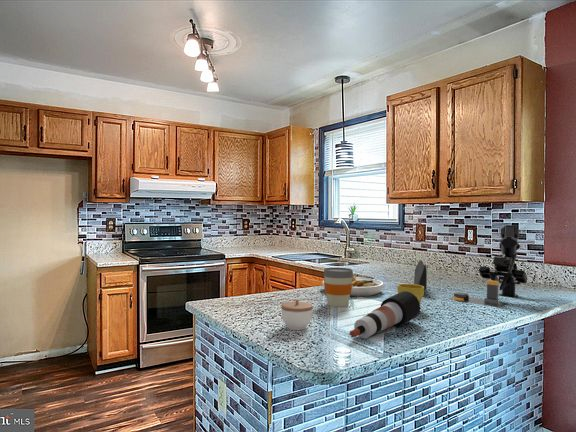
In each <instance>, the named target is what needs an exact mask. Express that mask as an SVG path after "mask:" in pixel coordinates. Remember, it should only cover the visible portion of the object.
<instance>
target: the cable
mask: <svg viewBox="0 0 576 432" xmlns="http://www.w3.org/2000/svg"><path fill="white" fill-rule="evenodd" d="M420 312H421V303H419V301H418V299H417V297H416V296H415V295H414V294H412V293H410V292H408V291H402V292H400V293H398V292H397V293H396V294H394V295H392V296H389V297H387V298H386V299H384V300H383V301H382V302H381V304H380V306H379V307H377V308H375V309H373V310H372V311H371V312H369V313H367V314H365V315H364V316H362V317H361V318H359V319H357V320H356V321H355V322H354V326H353V327H354V328H353V329H352V330H350V331H349V334H348V335H349V336H350V337H351V338H356V337H357V336H358V337H359V338H362V339H368V338H369V337H371V336H373V335H376V334H378V333H379V332H382V331H384V330H387V329H388V328H390V327H395V328H399V327H401V326H403V325H405V324H407V323H409V322H410V321H412V320H413V319H415V318H416V317H418V316H419V315H420Z"/></svg>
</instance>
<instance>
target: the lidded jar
mask: <svg viewBox="0 0 576 432" xmlns="http://www.w3.org/2000/svg"><path fill="white" fill-rule="evenodd" d="M280 307H281V318H282V321H283V323H284V325H285V326H286V327H287V328H288V330H293V331H302V330H305V329H306V328H307V327H308V326H309V325H310V323H311V321H312V317H313V309H314V305H313V303H310V302H306V301H299V299H295V301H287V302H283V303H282V304H281V306H280Z"/></svg>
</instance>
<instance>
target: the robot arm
mask: <svg viewBox="0 0 576 432" xmlns="http://www.w3.org/2000/svg"><path fill="white" fill-rule="evenodd" d="M500 239H501V241H499V250H501V256H493V259H492V265H494V268H491V267H490V266H483V265H481V266H479V269H478V272H479V274H480V276H481V278H483V279H488V280H492V281H498V284H500V283H501V284H500V286H499V291H501V293H498V296H502V297H509V298H515V297H517V296H519V294H516V285H521V284H526V283H527V282H528V276H527V274H526V271H525V270H523V269H518V266H517V263H516V260H517V257H518V256H517V251H519V249H520V248H521V245H520V243H519V242H518V239H520V229H519V228H518V227H517V226H516V225H512V224H505V225H504V226H503V227H502V228H500Z"/></svg>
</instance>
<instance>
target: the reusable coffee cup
mask: <svg viewBox="0 0 576 432" xmlns="http://www.w3.org/2000/svg"><path fill="white" fill-rule="evenodd" d="M353 271H354V270H353V269H352V268H348V267H326V268H324V269H323V277H324V278H325V282H324V286H325V289H324V293H325V295H326V304H327V305H328V306H329V307H335V308H345V307H349V305H350V303H349V302H350V297H351V296H350V294H351V290H352V277H353V276H354V273H353ZM324 278H323V279H324Z"/></svg>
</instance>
